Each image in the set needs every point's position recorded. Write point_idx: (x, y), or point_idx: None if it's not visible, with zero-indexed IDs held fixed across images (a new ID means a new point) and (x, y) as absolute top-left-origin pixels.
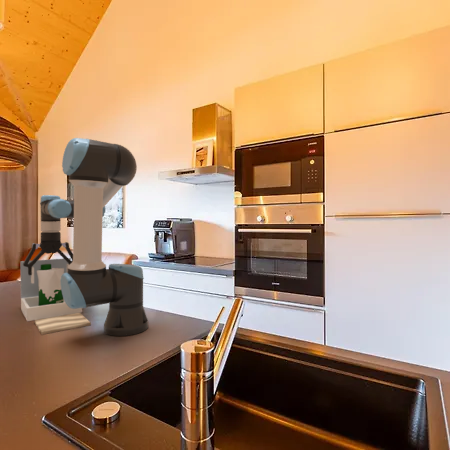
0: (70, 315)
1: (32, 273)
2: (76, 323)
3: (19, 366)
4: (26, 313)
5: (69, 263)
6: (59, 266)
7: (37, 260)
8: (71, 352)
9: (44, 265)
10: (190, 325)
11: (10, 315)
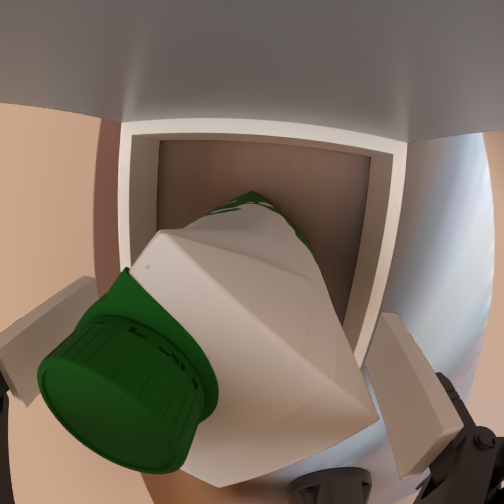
0: None
1: None
2: None
3: (156, 482)
4: None
5: (423, 487)
6: (445, 62)
7: (9, 470)
8: (216, 495)
9: (97, 451)
10: (399, 493)
11: (108, 203)
